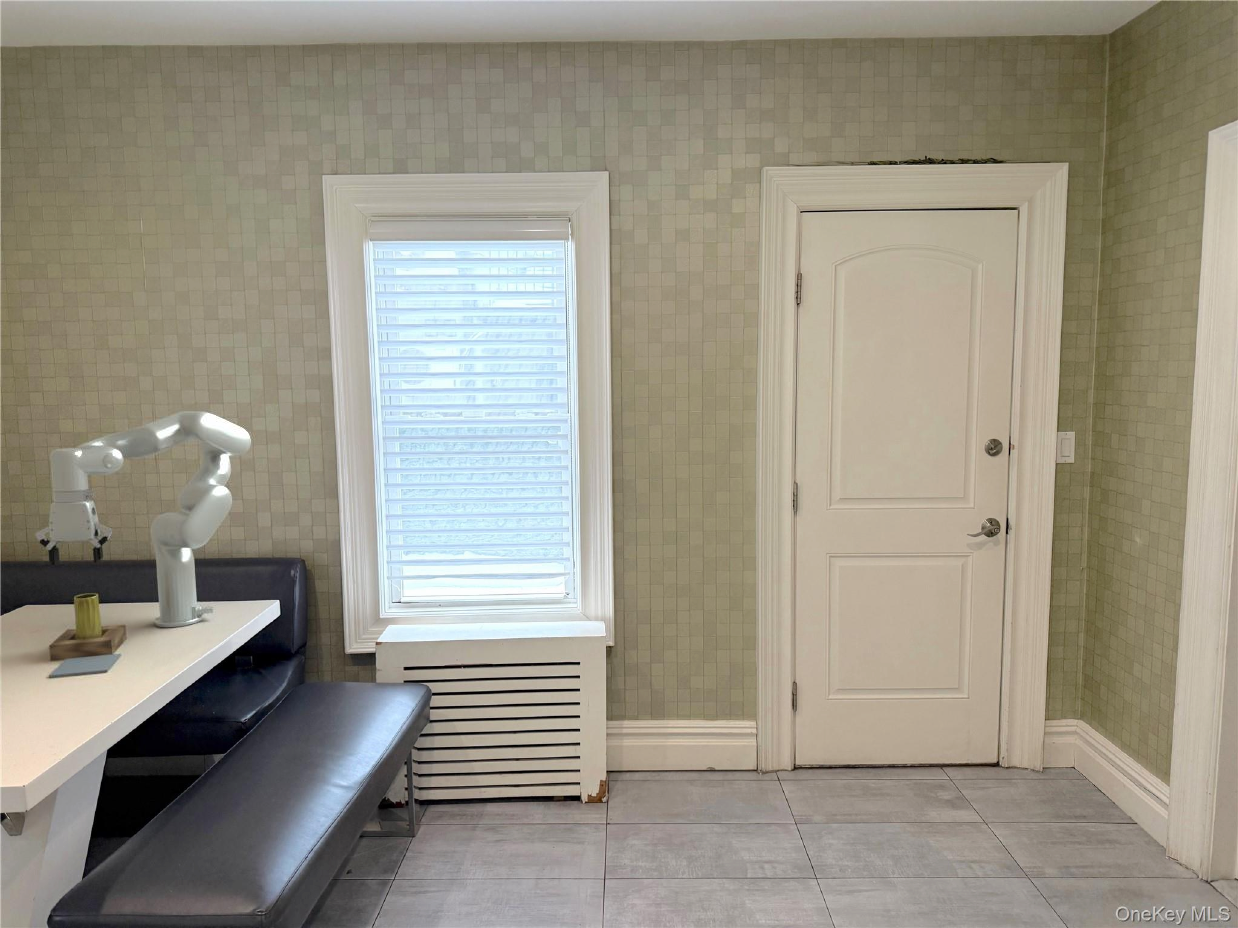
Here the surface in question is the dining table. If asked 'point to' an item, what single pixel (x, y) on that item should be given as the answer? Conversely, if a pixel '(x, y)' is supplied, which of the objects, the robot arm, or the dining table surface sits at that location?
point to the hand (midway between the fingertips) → (76, 562)
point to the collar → (87, 643)
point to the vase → (87, 616)
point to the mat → (85, 665)
